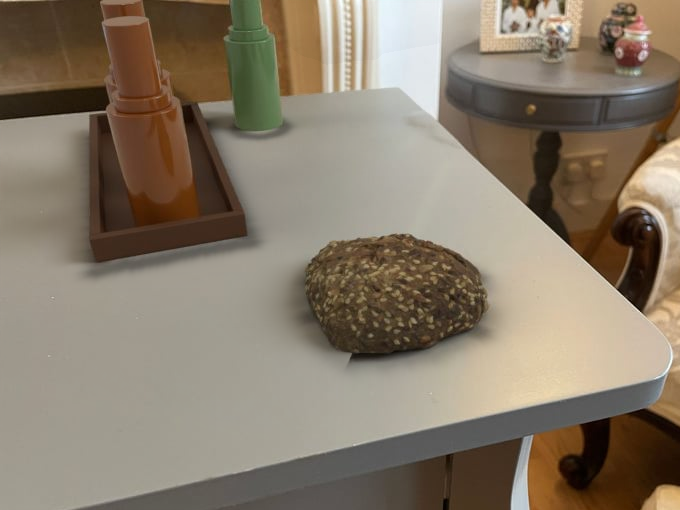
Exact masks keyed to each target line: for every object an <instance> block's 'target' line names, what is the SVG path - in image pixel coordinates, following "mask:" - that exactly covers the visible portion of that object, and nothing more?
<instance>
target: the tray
mask: <svg viewBox="0 0 680 510" xmlns="http://www.w3.org/2000/svg"><path fill="white" fill-rule="evenodd" d="M181 108H182V113H183V119H184V124H185V130H186V135H187V141H188V146H189V152H190V157H191V163H192V168H193V173H194V179H195V184H196V190H197V195H198V201H199V206H200V212H201V217H196V218H190V219H184V220H178V221H172V222H166V223H160V224H154V225H148V226H142V227H136V228H135V224H134V220H133V216H132V212H131V208H130V204H129V200H128V196H127V192H126V188H125V184H124V180H123V176H122V172H121V168H120V164H119V160H118V156H117V152H116V148H115V144H114V140H113V136H112V132H111V128H110V124H109V120H108V116H107V112H106V111H105V112H99V113H90V114H89V116H88V117H89V120H88V121H89V123H88V125H89V126H88V127H89V131H88V134H89V137H88V138H89V146H88V147H89V149H88V152H89V161H88V162H89V164H88V165H89V167H88V169H89V172H88V173H89V177H88V178H89V179H88V180H89V181H88V182H89V183H88V185H89V196H88V197H89V198H88V199H89V202H88V204H89V206H88V207H89V210H88V211H89V212H88V213H89V215H88V218H89V219H88V220H89V222H88V223H89V243H90V247H91V250H92V253H93V256H94V260H95V263H96V264H100V263H104V262H105V263H106V262H111V261H116V260H122V259H127V258H132V257H139V256H144V255H150V254H154V253H160V252H161V253H162V252H167V251H171V250H177V249H184V248H189V247H194V246H200V245H205V244H210V243H211V244H212V243H217V242H222V241H227V240H232V239H238V238H239V239H240V238H244V237H248V226H247V220H246V219H247V218H246V214H245V211H244V209H243V206H242V204H241V201H240V199H239V197H238V194H237V192H236V189H235V187H234V186H233V182H232V180H231V179H230V175H229V174H228V171H227V169H226V166H225V163H224V162H223V159H222V158H221V155H220V153H219V149H218V148H217V145H216V143H215V140H214V137H213V136H212V134H211V131H210V129H209V127H208V124H207V122H206V119H205V118H204V115H203V113H202V110H201V108H200V106H199V103H198V101H192V102H184V103H183V102H182V103H181Z"/></svg>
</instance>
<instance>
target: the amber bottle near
mask: <svg viewBox="0 0 680 510" xmlns="http://www.w3.org/2000/svg"><path fill="white" fill-rule="evenodd" d="M101 27H102V31H103V36H104V40H105V44H106V48H107V53H108V57H109V61H110V64H111V66H112V70H113V74H114V78H115V83H116V87H117V90H115V91H114V92H113V93H112V95H111V97H112V101H113V102H112V103H109V104H107V106H106V108H105V113H106V112H107V116H108V120H109V124H110V128H111V132H112V136H113V140H114V144H115V148H116V152H117V156H118V160H119V164H120V168H121V172H122V176H123V180H124V184H125V188H126V192H127V196H128V200H129V204H130V208H131V212H132V216H133V220H134V224H135V228H136V227H142V226H148V225H154V224H160V223H166V222H172V221H178V220H184V219H190V218H196V217H201V212H200V206H199V201H198V195H197V190H196V184H195V179H194V173H193V168H192V163H191V157H190V152H189V146H188V141H187V135H186V130H185V124H184V119H183V113H182V108H181V104H182V103H181V100H180V98H178V97H177V96H175V95H174V96H171V93H170V89H169V88H168V87H167V86H165V85H162V83H161V78H160V73H159V67H158V62H157V60H158V59H157V53H156V48H155V42H154V38H153V33H152V32H153V31H152V28H151V22H150V19H149V18H148V17H146V16H145V17H140V16H125V17H116V18H111V19H107V20H105V21H104V20H103V21H101Z"/></svg>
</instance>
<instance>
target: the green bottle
mask: <svg viewBox="0 0 680 510" xmlns="http://www.w3.org/2000/svg"><path fill="white" fill-rule="evenodd" d="M228 3H229V10H230V18H231V19H230V20H231V25H229V26H228V27H227V33H228V34H227V35H225V36H223V38H222V39H223V45H224V55H225V62H226V68H227V69H226V70H227V75H228V83H229V91H230V95H231V96H230V97H231V103H232V104H231V105H232V111H233V118H234V119H233V120H234V126H235V127H236V128H237V129H238V130H241V131H245V132H246V131H247V132H264V131H269V130H274V129H276V128H278V127H281V125H283V123H284V120H283V118H284V117H283V108H282V98H281V89H280V88H281V87H280V78H279V65H278V57H277V46H276V37H275V34H273V33H271V32H269V26H268V24H265V23H264V20H263V10H262V0H228Z"/></svg>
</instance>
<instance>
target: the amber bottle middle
mask: <svg viewBox="0 0 680 510" xmlns="http://www.w3.org/2000/svg"><path fill="white" fill-rule="evenodd" d="M99 4H100V9H101V12H102V17H103V21H105V20H107V19H111V18H116V17H125V16H140V17H146V12H145V8H144V3H143V0H101V1H100V2H99ZM157 62H158V67H159V73H160V78H161V83H162V85H165V86H167V87H168V88H169V89H170V93H171V96H174V97H175V92H174V87H173V81H172V75H171V73H170V72H169V71H168V70H166V69H164V68H162V67H163V66H162V62H161V60H159V59H157ZM108 70H109V74H108V75H106V76H105V77H104V79H103V83H104V86H105V90H106V95H107V99H108V103H109V104H110V103H112V102H113V101H112V97H111V95H112V93H113V92H114V91H115V90H117V87H116V83H115V78H114V74H113V70H112V66H111V63H110V64H109V65H108Z"/></svg>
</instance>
